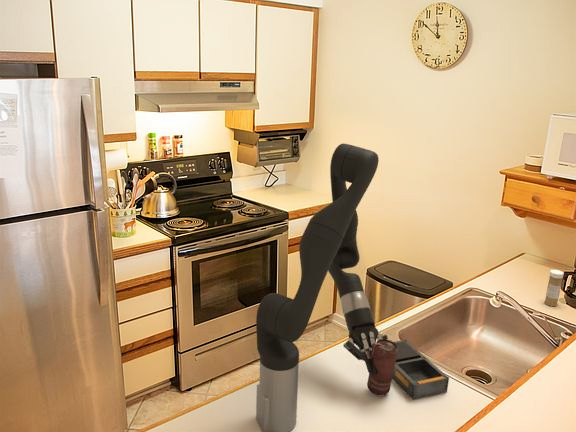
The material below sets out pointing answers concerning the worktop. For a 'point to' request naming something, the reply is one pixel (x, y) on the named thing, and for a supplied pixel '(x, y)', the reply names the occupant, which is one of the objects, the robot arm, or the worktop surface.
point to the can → (382, 367)
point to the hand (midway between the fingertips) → (375, 374)
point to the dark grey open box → (417, 373)
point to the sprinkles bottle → (554, 287)
